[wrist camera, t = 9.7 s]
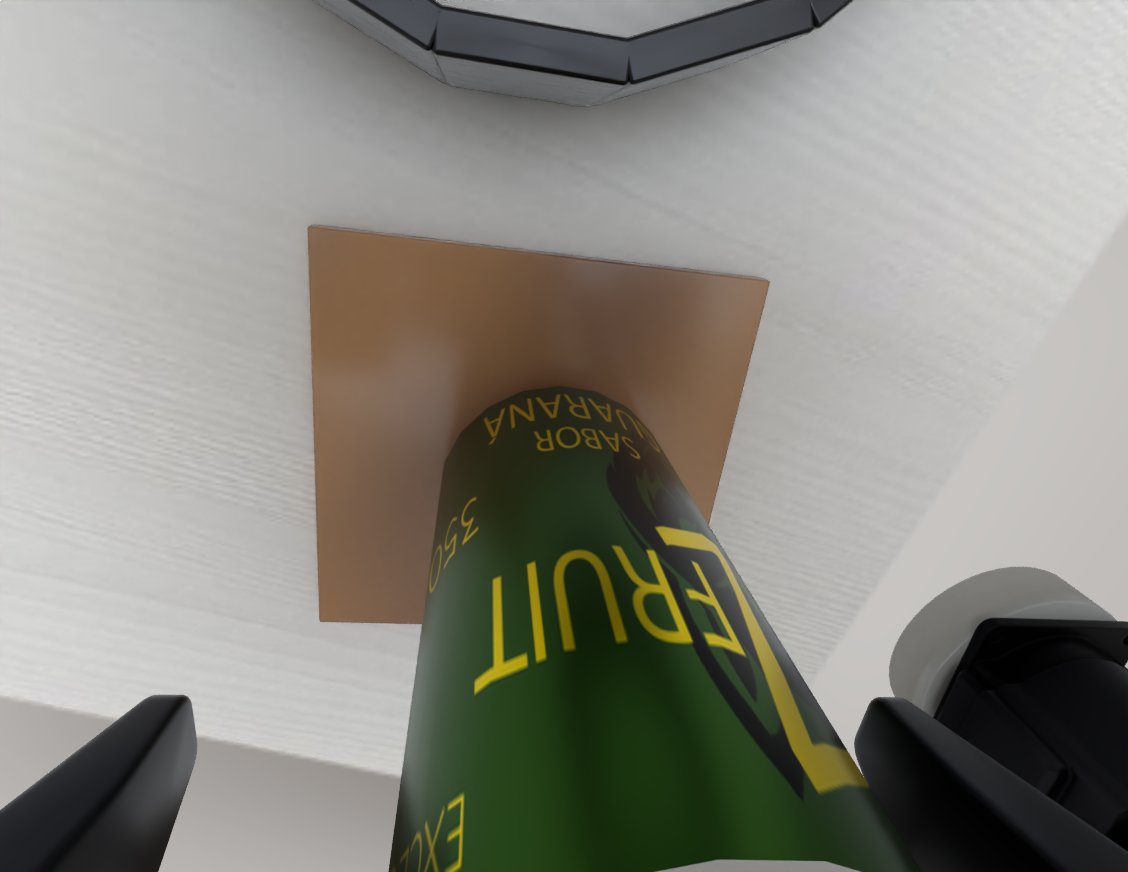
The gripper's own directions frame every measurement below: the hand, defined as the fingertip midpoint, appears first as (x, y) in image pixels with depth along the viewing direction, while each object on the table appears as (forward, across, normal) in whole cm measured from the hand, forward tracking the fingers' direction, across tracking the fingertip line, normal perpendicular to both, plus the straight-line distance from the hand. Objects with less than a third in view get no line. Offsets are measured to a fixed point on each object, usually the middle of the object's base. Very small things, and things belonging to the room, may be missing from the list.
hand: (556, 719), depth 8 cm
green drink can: (+8, -1, 0) cm, 8 cm away
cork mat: (+8, 0, 0) cm, 8 cm away
